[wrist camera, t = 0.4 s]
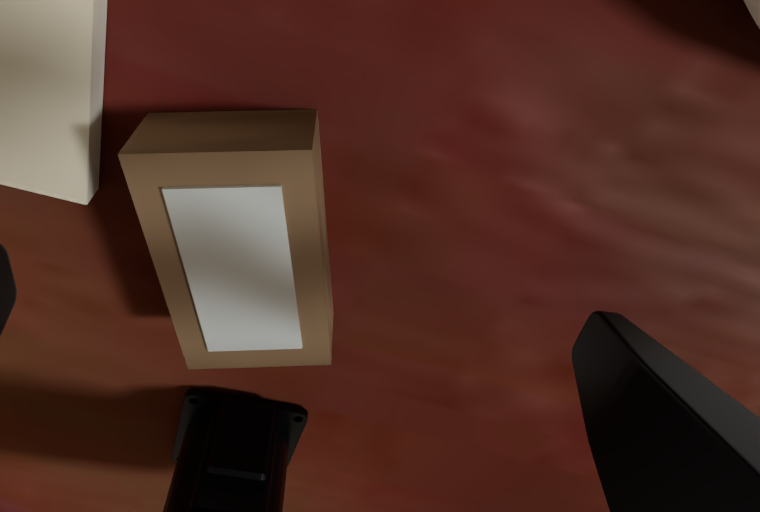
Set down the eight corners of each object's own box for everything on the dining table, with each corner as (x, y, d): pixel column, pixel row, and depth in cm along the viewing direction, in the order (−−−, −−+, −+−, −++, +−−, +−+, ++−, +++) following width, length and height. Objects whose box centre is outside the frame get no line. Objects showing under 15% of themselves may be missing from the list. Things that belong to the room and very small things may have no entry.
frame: (333, 308, 26) (331, 367, 23) (206, 312, 26) (187, 372, 23) (317, 105, 20) (311, 152, 17) (150, 109, 20) (116, 156, 17)
